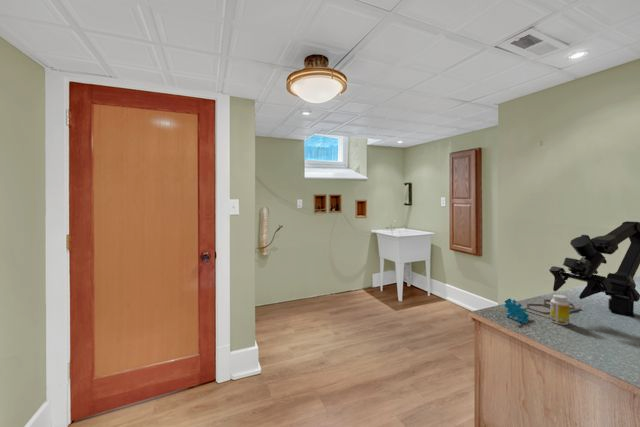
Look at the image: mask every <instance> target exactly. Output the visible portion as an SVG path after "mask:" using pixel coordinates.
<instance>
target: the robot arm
mask: <svg viewBox="0 0 640 427" xmlns="http://www.w3.org/2000/svg"><path fill="white" fill-rule="evenodd" d="M627 239H629V241H630V244H629V246H628V248H627V250H626V252H625V254H624V256H623V258H622V260H621V262H620V264H619V266H618V267H617V268H618V269H617V271H616V272H613V273H611V272H609V273H607V275H606V276H603V275H599V271H598V269H599V267H600V266H601V264H605V265H606V264H607V260H606V257H605V256H604V255H605V254H606V255H613V254H614V253H616V251H617V250H619V245H620V244H621V243H622V242H624V241H625V240H627ZM570 246H571V247H572V248H573V250H574V251H575V252H576V253H577V254H578V256H579V257H581V258H580V259H577V258H572V257H571V258H570V257H565V258H564V261H563V264H562V265H563V267H560V266H554V265H553V266H551V267H550V268H549V270H548V271H549V272H550V273H551V275H553V277H554V278H553V280H554V282H553V288H552V290H553V292H557V291H559V289H561V288H562V287H563V286H564V285H565V284H566V283H567V281H568V280H569V279H573V280H577V281H581V282H585V283H586V286H584V288H583V290H582V291H581V292H580V294H579V296H578V298H579V299H580V300H583V299H585V298H588V297H590V296H593V295H597V294H600V293H604V294H605V296H608V297H610V298H607V299H608V304H607V305H608V307H607V308H608V309H609V311H610V312H611V313H612V314H618V315H624V316H629V317H635V311H634V309H635V306H634V302H637V303H638V302H639V301H640V293H639V291H638V290H637V289H636V286H637V284H636V282H635V280H634V277H635V275H636V273H637V271H638V269H639V266H640V221H629V220H628V221H623V222H622V223H621V225H619V226H617V227H616V228H614V229H613V230H612V231H610V232H607V233H606V234H604V235H598V236H595V237H593V238H590V236H589V235H588V234H581V236H577V237H575V238H573V239H571V240H570ZM603 254H604V255H603ZM564 267H567V270H568V272H567V271H566V270H565V268H564Z"/></svg>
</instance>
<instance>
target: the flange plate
mask: <svg viewBox="0 0 640 427" xmlns="http://www.w3.org/2000/svg"><path fill="white" fill-rule="evenodd" d="M552 299H553V298H549V299H543V300H542V301H538V302H533V303H526V305H522V306H521V307H520V308H522V309H524V308H527V310H526V312H529V313H532V314H535V315H538V316H541V317H544V318H547V319H550V301H551V300H552ZM568 303H569V313H572V312H575V311H576V312H577V311H580V310H581V306H578V305H576V304H574V303H570V302H568Z"/></svg>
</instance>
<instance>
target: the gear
mask: <svg viewBox="0 0 640 427" xmlns="http://www.w3.org/2000/svg"><path fill="white" fill-rule="evenodd" d="M504 303H505V304H504V305H503V306H504V307H505V308H506V312H507V314H506V315H505V316H506V317H507V318H510V317H511V318H512V319H515V318H517V319H516V321H517V323H522V324H527V322H529V321H530V319H529V317H530V314H528V313H526V312H527V311H526V310H527V308H524V309H522V308H521V306H523V305H522V304H521V303H520V302H519V303H517V300H515V299H512V298H507V299H506V300H504ZM516 303H517V304H516Z"/></svg>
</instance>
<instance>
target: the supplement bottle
mask: <svg viewBox="0 0 640 427" xmlns="http://www.w3.org/2000/svg"><path fill="white" fill-rule="evenodd" d="M551 299H552V300H551V301H550V318H549V320H550V321H551V322H553V323H554V324H557V325H563V326H567V325H569V324H570V312H569V303H570V302H568V301H567V299H568V297H567V296H566V295H562V294H553V295H552V298H551Z"/></svg>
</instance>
